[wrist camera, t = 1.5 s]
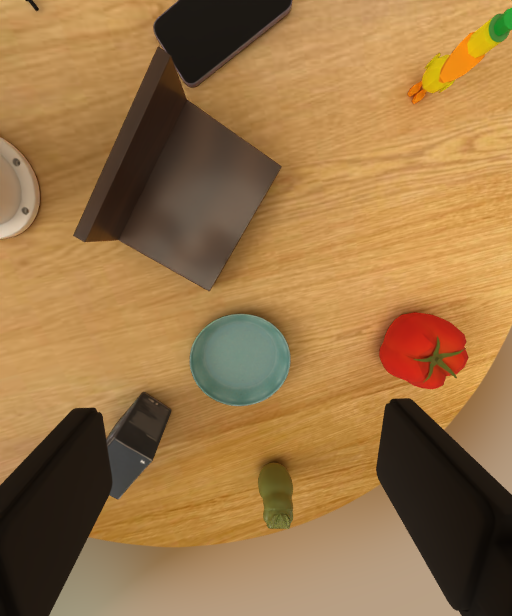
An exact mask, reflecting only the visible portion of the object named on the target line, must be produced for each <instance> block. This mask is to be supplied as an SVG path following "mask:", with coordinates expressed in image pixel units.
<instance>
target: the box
mask: <svg viewBox="0 0 512 616" xmlns="http://www.w3.org/2000/svg"><path fill="white" fill-rule="evenodd" d="M171 411H172V410H171V409H170V408H168V407H167V406H165V405H164V404H162V403H161V402H159V401H158V400H156V399H154V398H153V397H151V396H150V395H148V394H147V393H145V392H142V393H141V395H140V396H139V397H138V398H137V400H136V401H135V402H134V403H133V405H132V406H131V407H130V408H129V409H128V410H127V412H126V413H125V414H124V415H123V417H122V418H121V419H120V420H119V421H118V422H117V423H116V425H115V426H114V428H113V429H112V431H111V433H110V434H109V436H108V437H107V439H106V441H107V448H108V454H109V460H110V467H111V473H112V480H113V483H112V489H111V492H110V494H109V495H110V496H112V497H114V498H116V499H120V497H121V496H122V495H123V493H124V492H125V491H126V490H127V489H128V488H129V486H130V485H131V484H132V483H133V482H134V481H135V479H136V478H137V477H138V476H139V475H140V474H141V473H142V472H143V471H144V469H145V468H146V467H147V466H148V465H149V464H150V463H151V462H152V461H153V458H154V456H155V453H156V450H157V448H158V445H159V443H160V440H161V437H162V435H163V432H164V429H165V427H166V424H167V422H168V419H169V416H170V414H171Z"/></svg>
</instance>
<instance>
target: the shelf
mask: <svg viewBox="0 0 512 616" xmlns="http://www.w3.org/2000/svg"><path fill="white" fill-rule="evenodd" d="M280 169H281V166H280V165H279V164H277V163H276V162H275V161H273V160H272V159H270V158H269V157H267V156H266V155H265V154H263V153H262V152H260V151H259V150H258V149H256V148H255V147H253V146H252V145H250V144H249V143H248V142H246V141H245V140H243V139H242V138H241V137H239V136H238V135H236V134H235V133H233V132H232V131H231V130H229V129H228V128H226V127H225V126H223V125H222V124H221V123H219V122H218V121H216V120H215V119H214V118H212V117H211V116H209V115H208V114H206V113H205V112H204V111H202V110H201V109H199V108H198V107H197V106H195V105H194V104H192V103H191V102H189V101H188V100H187V99H186V96H185V93H184V91H183V88H182V85H181V82H180V80H179V77H178V74H177V71H176V69H175V66H174V63H173V60H172V58H171V55H169V54H168V53H166V52H165V51H164V50H162V49H161V48H160V47H158V48H157V50H156V52H155V54H154V57H153V59H152V61H151V63H150V66H149V68H148V70H147V72H146V74H145V77H144V79H143V81H142V83H141V86H140V88H139V90H138V92H137V95H136V97H135V99H134V101H133V103H132V106H131V108H130V110H129V112H128V115H127V117H126V119H125V121H124V123H123V126H122V128H121V130H120V132H119V135H118V137H117V139H116V141H115V144H114V146H113V148H112V150H111V152H110V155H109V157H108V159H107V161H106V164H105V166H104V168H103V170H102V172H101V175H100V177H99V179H98V181H97V184H96V186H95V188H94V190H93V193H92V195H91V197H90V199H89V201H88V204H87V206H86V208H85V210H84V213H83V215H82V217H81V219H80V221H79V224H78V226H77V228H76V230H75V233H74V235H73V236H75V237H76V238H78V239H80V240H82V241H84V242H96V241H113V240H119V241H121V242H123V243H125V244H126V245H128V246H130V247H132V248H133V249H135V250H137V251H139V252H140V253H142V254H144V255H146V256H148V257H149V258H151V259H153V260H155V261H156V262H158V263H160V264H162V265H163V266H165V267H167V268H169V269H171V270H172V271H174V272H176V273H178V274H179V275H181V276H183V277H185V278H187V279H188V280H190V281H192V282H194V283H195V284H197V285H199V286H201V287H202V288H204V289H206V290H208V291H210V290H211V288H212V286H213V285H214V283H215V281H216V279H217V278H218V276H219V274H220V273H221V271H222V269H223V267H224V266H225V264H226V262H227V260H228V259H229V257H230V255H231V253H232V252H233V250H234V248H235V247H236V245H237V243H238V241H239V240H240V238H241V236H242V234H243V233H244V231H245V229H246V228H247V226H248V224H249V222H250V221H251V219H252V217H253V215H254V214H255V212H256V210H257V209H258V207H259V205H260V203H261V202H262V200H263V198H264V196H265V195H266V193H267V191H268V190H269V188H270V186H271V184H272V183H273V181H274V179H275V177H276V176H277V174H278V172H279V171H280Z"/></svg>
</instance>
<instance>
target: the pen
mask: <svg viewBox="0 0 512 616" xmlns="http://www.w3.org/2000/svg"><path fill="white" fill-rule="evenodd" d="M26 1H29V2H30V4H31V5H32V6H33V7H34V9H35V10H36V11H38V10H39V9H38V7H37V6H36V4H35V3H34V2H33V0H26Z"/></svg>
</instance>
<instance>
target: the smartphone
mask: <svg viewBox="0 0 512 616" xmlns="http://www.w3.org/2000/svg"><path fill="white" fill-rule="evenodd" d="M291 6H292V0H178V1H177V2H176V3H175V4H174V5H172V6H171V7H170V8H169V9H168V10H167V11H165V12H164V13H163V14H162V15H161V16H160V17H158V18H157V19H156V21H155V23H154V33H155V35H156V37H157V39H158V41H159V43H160V44H161V46H162V48H163V49H164V51H165V52H166V53H168V54H169V55H171V58H172V60H173V63H174V66H175V68H176V70H177V72H178V73H179V75H180V77H181V78H182V80H183V81H184V83H185V84H186V85H187V86H189V87H195V86H197V85H199V84H200V83H201V82H202V81H204V80H205V79H206V78H207V77H209V76H210V75H211V74H212V73H214V72H215V71H216V70H218V69H219V68H220V67H221V66H223V65H224V64H225V63H226V62H228V61H229V60H230V59H231V58H233V57H234V56H235V55H236V54H238V53H239V52H240V51H241V50H243V49H244V48H245V47H247V46H248V45H249V44H250V43H252V42H253V41H254V40H255V39H257V38H258V37H259V36H260V35H262V34H263V33H264V32H265V31H267V30H268V29H269V28H270V27H272V26H273V25H274V24H275V23H277V22H278V21H279V20H281V19H282V18H283V17H284V16H286V15H287V14H288V13H289V11H290V9H291Z"/></svg>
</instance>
